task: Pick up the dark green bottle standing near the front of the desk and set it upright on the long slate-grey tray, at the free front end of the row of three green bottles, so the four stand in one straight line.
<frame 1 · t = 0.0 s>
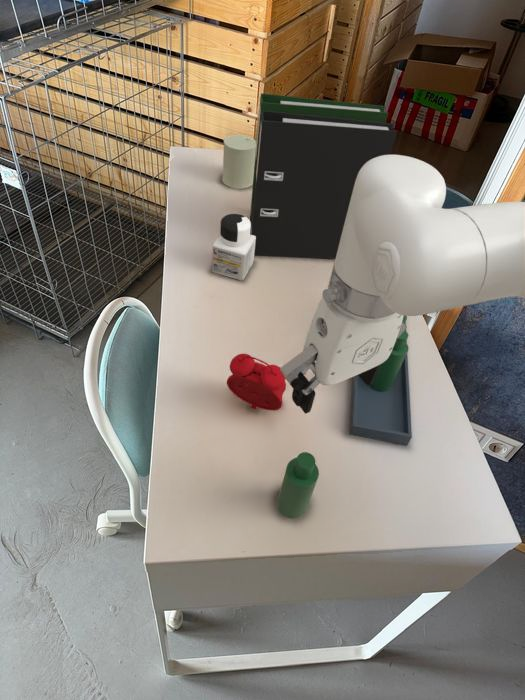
hand: (332, 390, 61), 24 cm above the table, tool pointing down, fingers open, 9 cm apart
bottle 1: (379, 382, 92), point 1 cm above the table, touching tray
binder: (302, 243, 123), on the table
bottle 2: (379, 352, 98), point 1 cm above the table, touching tray
can: (237, 181, 141), on the table
alarm clock: (254, 406, 87), on the table
tray: (378, 367, 96), on the table
loose bottle: (292, 503, 75), on the table
container: (232, 268, 113), on the table
bottle 3: (379, 325, 103), point 1 cm above the table, touching tray
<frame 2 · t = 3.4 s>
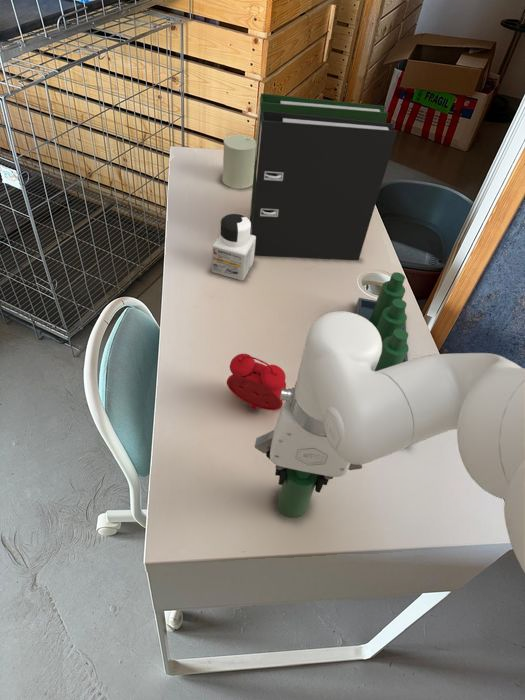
hand: (300, 478, 69), 8 cm above the table, tool pointing down, fingers closed on loose bottle, 4 cm apart
loose bottle: (292, 503, 75), on the table, touching gripper
everything else where it was.
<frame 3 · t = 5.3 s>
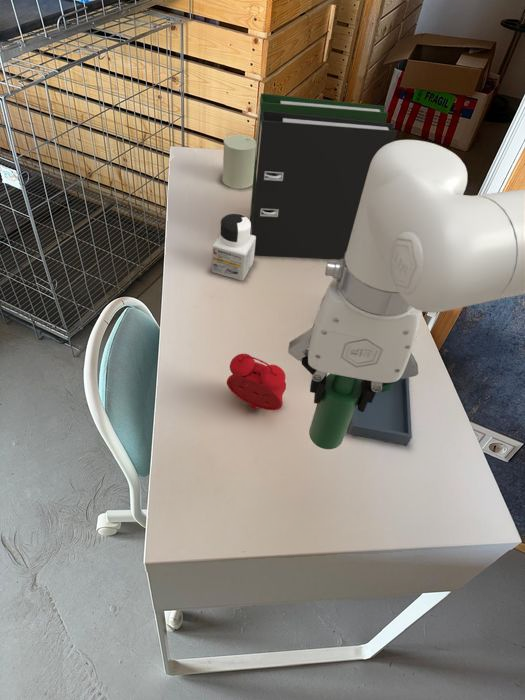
hand: (339, 397, 58), 25 cm above the table, tool pointing down, fingers closed on loose bottle, 4 cm apart
loose bottle: (326, 434, 64), point 17 cm above the table, touching gripper
everything else where it was.
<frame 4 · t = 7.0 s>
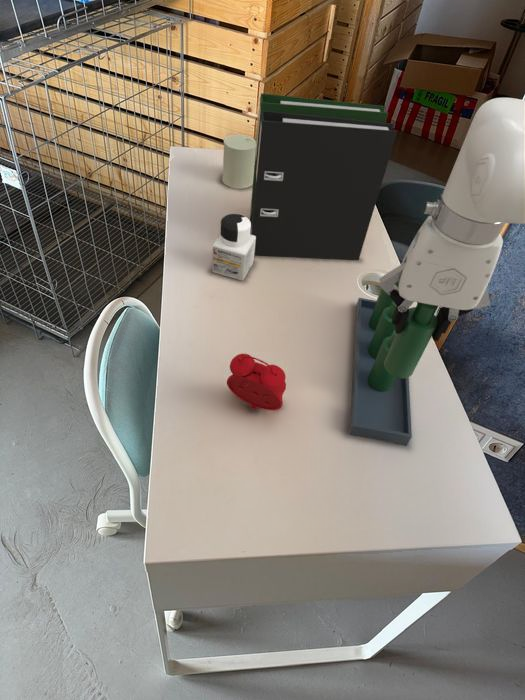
hand: (416, 329, 68), 25 cm above the table, tool pointing down, fingers closed on loose bottle, 4 cm apart
loose bottle: (398, 366, 74), point 16 cm above the table, touching gripper
everything else where it was.
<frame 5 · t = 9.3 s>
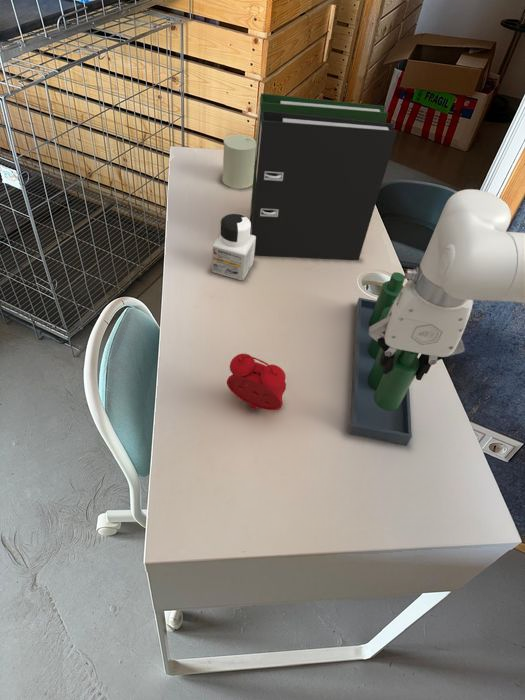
hand: (401, 369, 77), 14 cm above the table, tool pointing down, fingers closed on loose bottle, 4 cm apart
loose bottle: (386, 399, 84), point 6 cm above the table, touching gripper
everything else where it was.
when the fingers open (9 cm above the table, at t = 10.9 s): loose bottle stays where it is, resting on tray.
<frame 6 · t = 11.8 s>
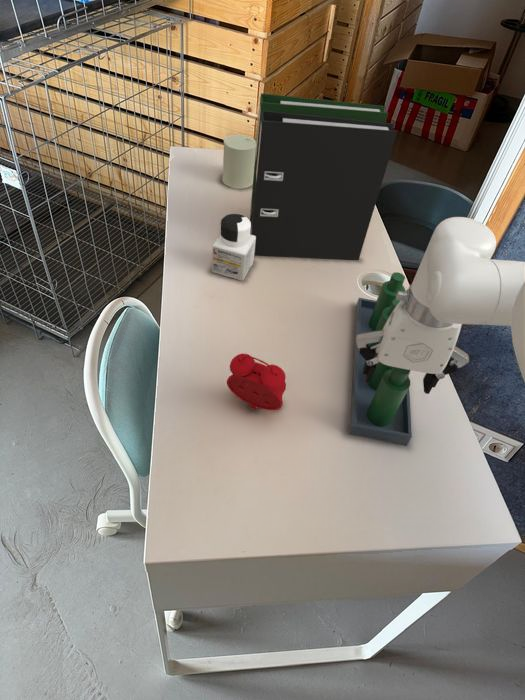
hand: (396, 381, 79), 11 cm above the table, tool pointing down, fingers open, 9 cm apart
loose bottle: (379, 416, 87), point 1 cm above the table, touching tray
everything else where it was.
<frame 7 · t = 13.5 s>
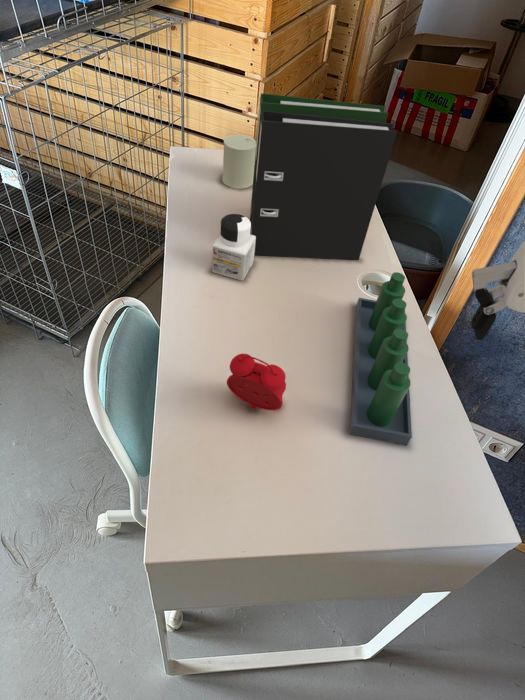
hand: (516, 339, 59), 31 cm above the table, tool pointing down, fingers open, 9 cm apart
nothing on the table moved.
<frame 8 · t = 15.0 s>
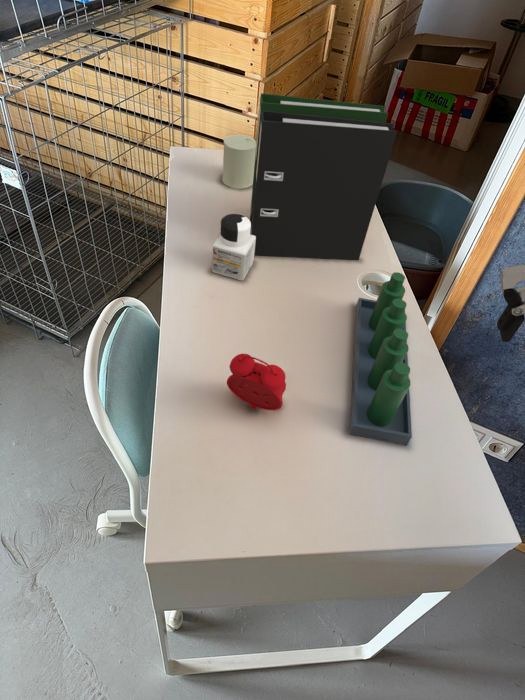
nothing on the table moved.
at the end: loose bottle 0.0 cm from the target spot in the tray, point 0.8 cm above the tray's base; loose bottle tilted 0°; bottle 1 moved 0.0 cm from its start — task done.
